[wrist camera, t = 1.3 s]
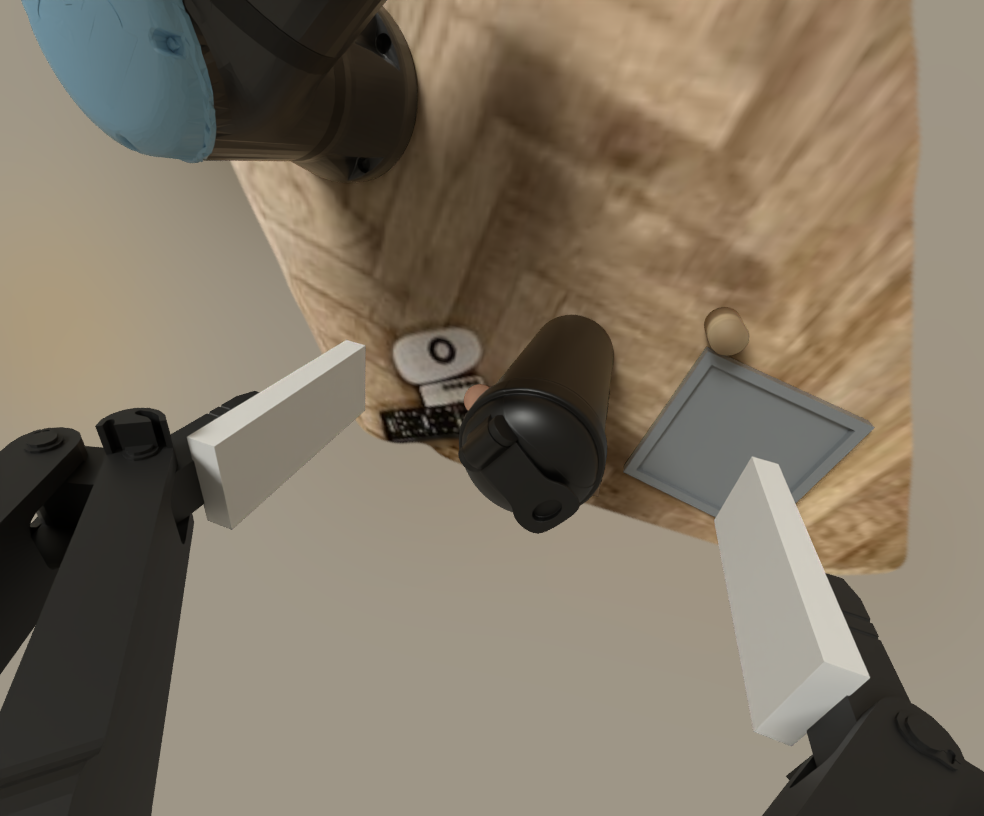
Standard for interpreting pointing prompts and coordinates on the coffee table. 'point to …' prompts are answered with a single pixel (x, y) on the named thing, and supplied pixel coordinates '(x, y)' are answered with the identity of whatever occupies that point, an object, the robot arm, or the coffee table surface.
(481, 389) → the rubber ball
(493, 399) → the water bottle
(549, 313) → the coffee table surface
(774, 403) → the tray
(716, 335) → the cylinder
